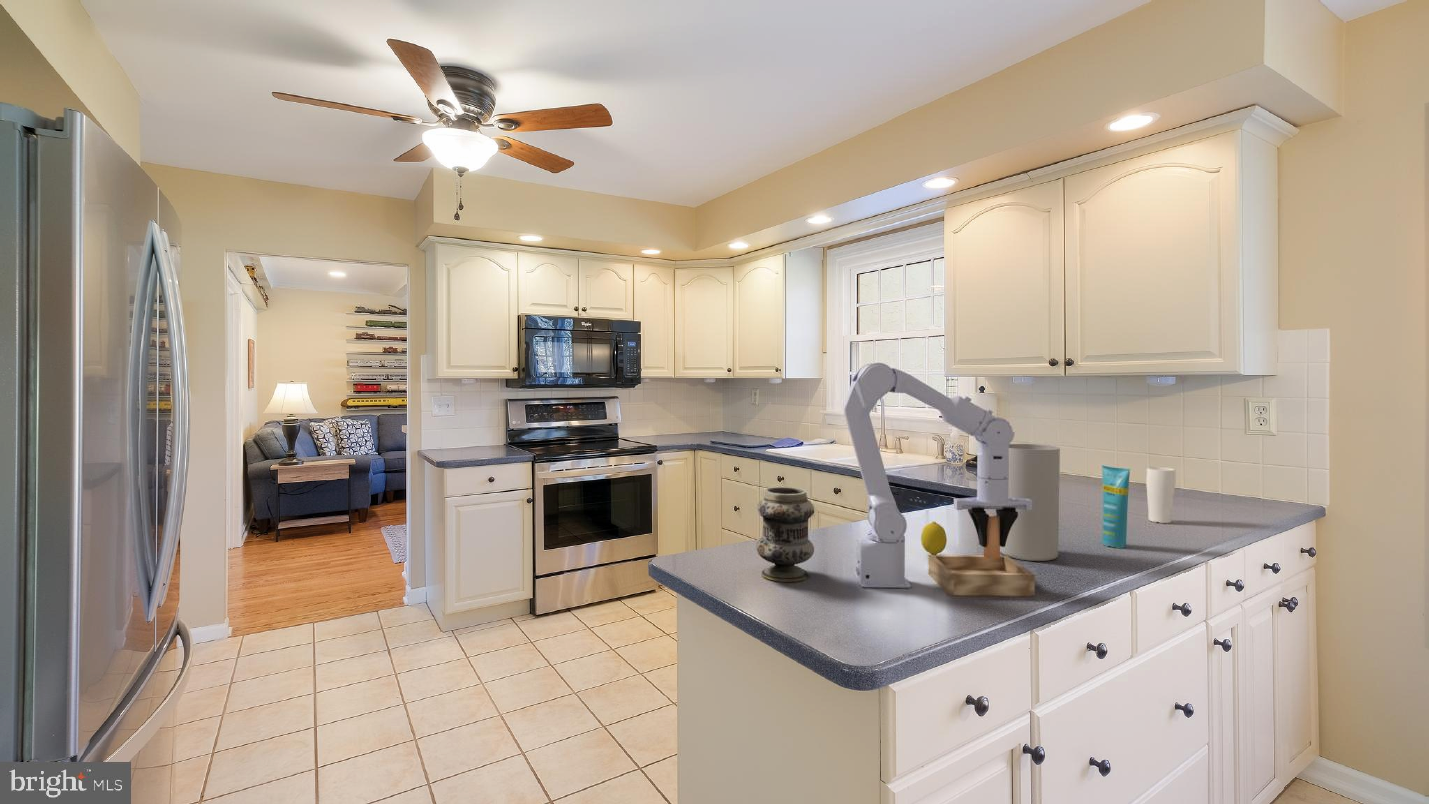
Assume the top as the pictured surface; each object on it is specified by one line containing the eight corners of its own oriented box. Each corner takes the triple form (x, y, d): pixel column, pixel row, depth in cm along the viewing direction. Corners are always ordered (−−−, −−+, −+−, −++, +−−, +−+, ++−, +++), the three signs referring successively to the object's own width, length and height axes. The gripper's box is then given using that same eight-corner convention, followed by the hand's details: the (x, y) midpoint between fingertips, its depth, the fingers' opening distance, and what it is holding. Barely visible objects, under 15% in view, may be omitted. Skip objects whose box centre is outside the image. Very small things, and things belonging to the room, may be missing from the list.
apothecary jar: (809, 586, 127) (809, 496, 127) (750, 581, 131) (749, 493, 130) (818, 569, 139) (818, 486, 138) (763, 564, 143) (763, 483, 142)
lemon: (948, 560, 145) (948, 524, 145) (922, 558, 146) (922, 523, 146) (944, 553, 151) (944, 519, 150) (919, 552, 152) (920, 518, 151)
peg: (986, 558, 127) (986, 517, 127) (981, 554, 130) (981, 515, 130) (1002, 558, 126) (1002, 517, 126) (997, 555, 129) (996, 515, 129)
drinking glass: (1173, 520, 182) (1174, 468, 182) (1175, 525, 176) (1176, 471, 176) (1144, 518, 186) (1145, 466, 185) (1145, 522, 180) (1146, 469, 179)
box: (948, 595, 122) (948, 574, 122) (928, 573, 135) (928, 555, 135) (1034, 595, 121) (1034, 574, 121) (1006, 574, 134) (1006, 555, 134)
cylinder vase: (1017, 544, 158) (1018, 442, 157) (1068, 556, 148) (1070, 447, 147) (986, 552, 151) (988, 446, 150) (1039, 565, 141) (1040, 451, 140)
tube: (1093, 543, 159) (1094, 465, 158) (1106, 541, 161) (1108, 464, 160) (1122, 550, 152) (1124, 469, 151) (1136, 548, 154) (1138, 468, 153)
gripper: (1021, 474, 131) (1020, 540, 132) (949, 474, 132) (948, 540, 132) (1037, 479, 124) (1036, 549, 125) (960, 479, 125) (960, 549, 125)
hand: (992, 545), depth 128 cm, fingers closed on peg, 3 cm apart
